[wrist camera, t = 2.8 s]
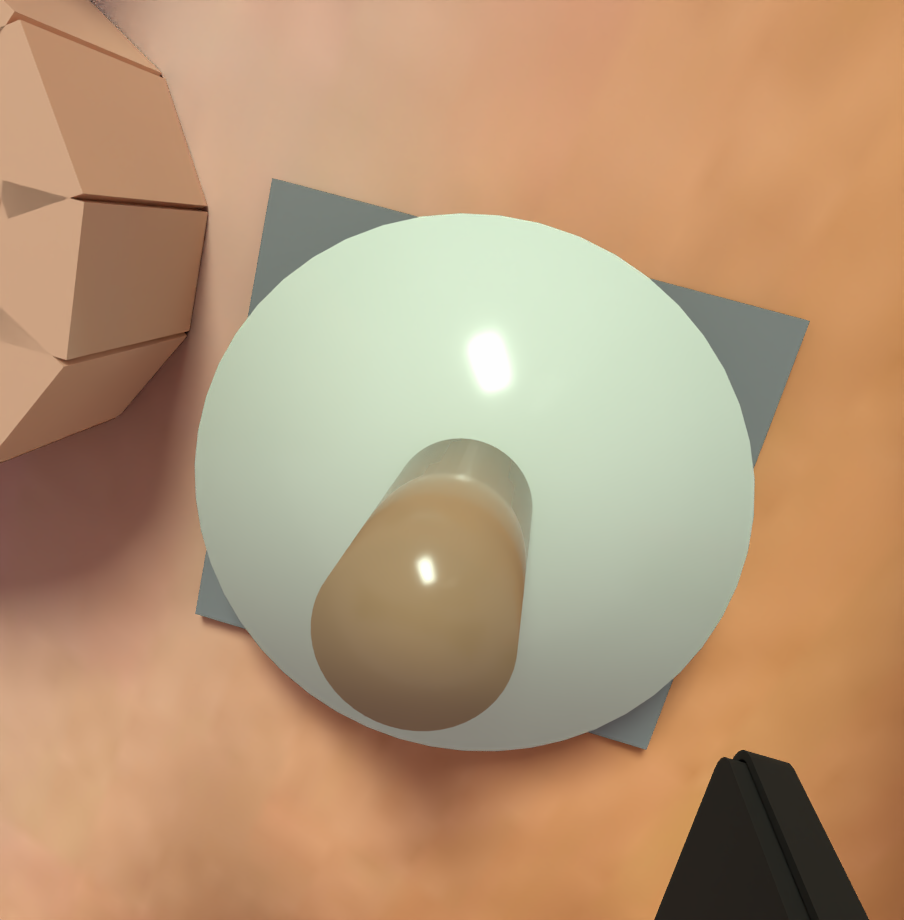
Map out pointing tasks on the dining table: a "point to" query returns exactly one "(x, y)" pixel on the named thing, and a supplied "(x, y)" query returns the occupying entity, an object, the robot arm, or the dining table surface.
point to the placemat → (720, 320)
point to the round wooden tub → (87, 222)
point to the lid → (474, 482)
